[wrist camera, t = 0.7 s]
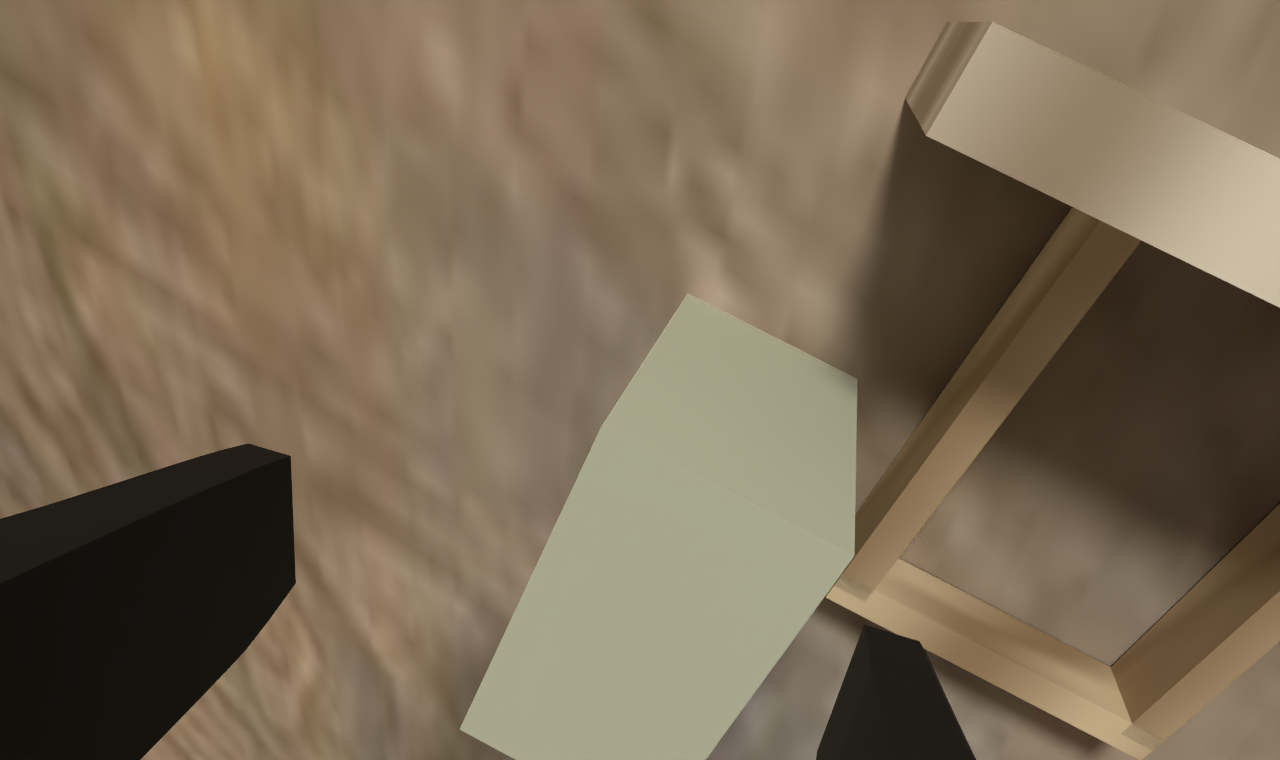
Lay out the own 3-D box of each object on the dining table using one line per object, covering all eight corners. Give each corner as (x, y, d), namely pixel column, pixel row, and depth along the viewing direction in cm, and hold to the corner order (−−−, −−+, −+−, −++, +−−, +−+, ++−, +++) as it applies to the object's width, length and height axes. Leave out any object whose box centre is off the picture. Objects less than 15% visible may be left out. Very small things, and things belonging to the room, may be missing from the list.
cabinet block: (857, 377, 19) (854, 555, 12) (703, 619, 23) (642, 846, 16) (688, 292, 19) (601, 425, 13) (564, 547, 23) (452, 744, 17)
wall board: (1749, 405, 15) (2260, 626, 9) (1264, 777, 20) (1409, 1050, 15) (947, 22, 15) (992, 21, 10) (690, 481, 21) (631, 640, 15)
